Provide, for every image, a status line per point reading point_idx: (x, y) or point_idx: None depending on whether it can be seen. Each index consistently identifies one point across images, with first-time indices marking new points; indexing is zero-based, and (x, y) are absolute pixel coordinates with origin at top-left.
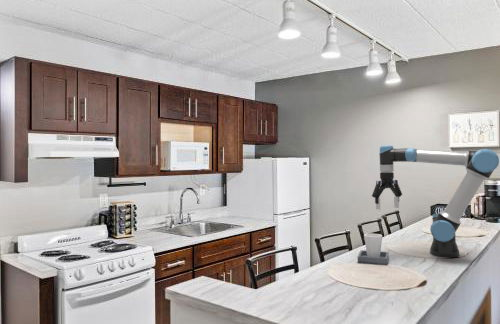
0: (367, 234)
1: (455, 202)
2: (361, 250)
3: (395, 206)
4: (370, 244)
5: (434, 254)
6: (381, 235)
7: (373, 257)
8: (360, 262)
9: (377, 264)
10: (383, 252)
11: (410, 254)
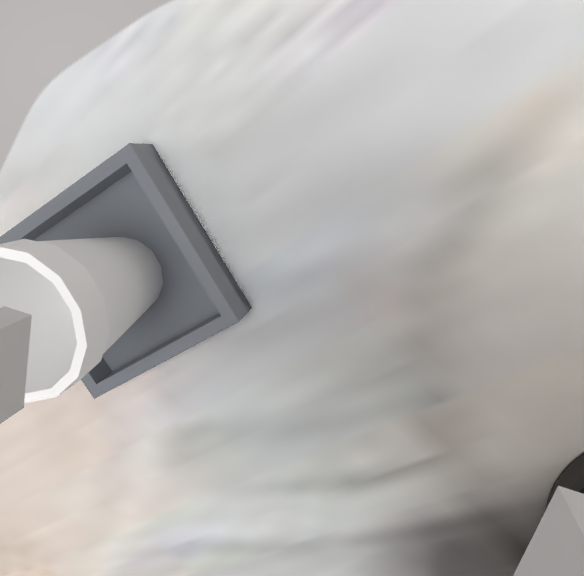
0: (11, 258)
1: None
2: (129, 150)
3: (550, 541)
4: None
5: (555, 488)
6: (59, 387)
7: None
8: None
9: None
10: (210, 297)
11: (466, 357)
